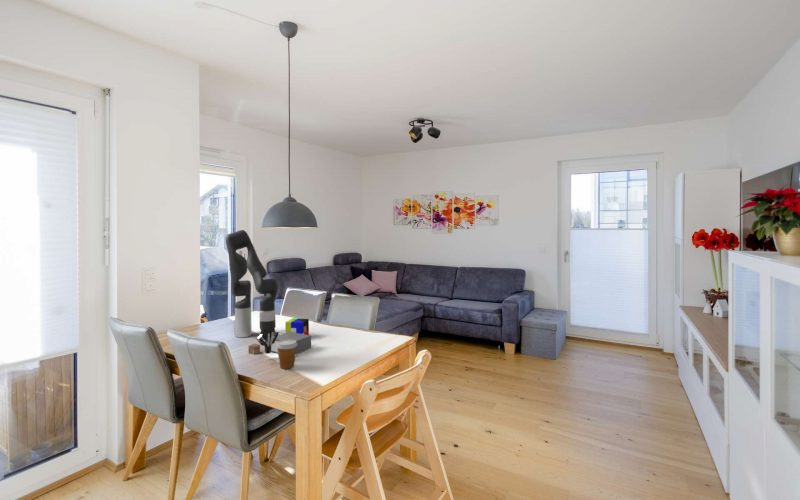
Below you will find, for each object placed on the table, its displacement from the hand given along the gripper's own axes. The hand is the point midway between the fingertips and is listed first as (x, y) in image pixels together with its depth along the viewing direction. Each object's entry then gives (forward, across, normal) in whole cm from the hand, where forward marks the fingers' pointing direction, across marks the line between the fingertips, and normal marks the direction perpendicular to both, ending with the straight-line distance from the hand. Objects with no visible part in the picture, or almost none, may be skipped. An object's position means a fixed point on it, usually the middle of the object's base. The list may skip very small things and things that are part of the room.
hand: (268, 353), depth 199 cm
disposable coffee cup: (+3, -4, -17) cm, 18 cm away
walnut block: (+3, +3, +13) cm, 14 cm away
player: (+3, +16, 0) cm, 16 cm away
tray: (+2, +14, 0) cm, 14 cm away
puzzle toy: (+3, +36, +14) cm, 39 cm away
